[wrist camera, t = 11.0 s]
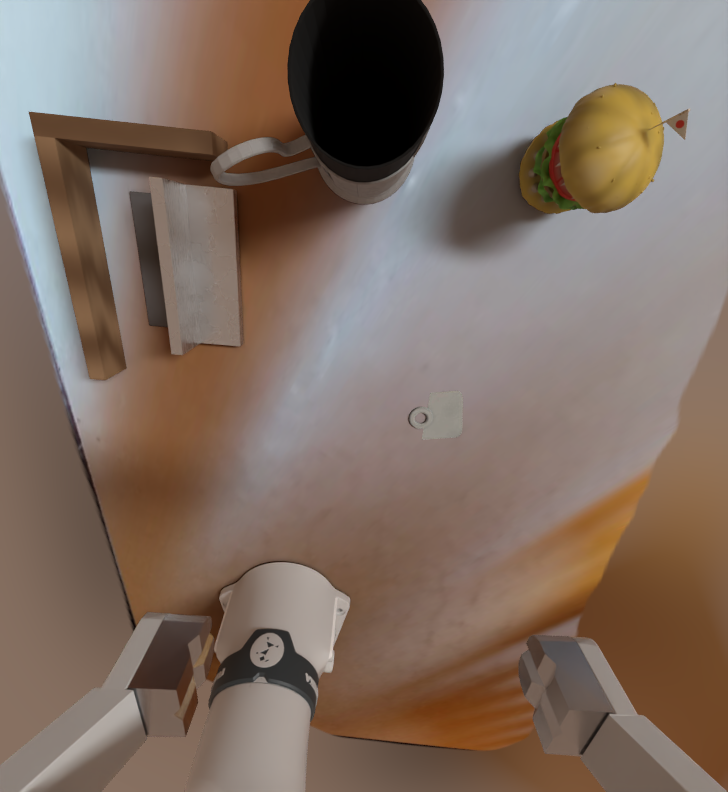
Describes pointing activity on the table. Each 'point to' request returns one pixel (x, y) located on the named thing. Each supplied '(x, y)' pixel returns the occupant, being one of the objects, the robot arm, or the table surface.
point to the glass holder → (355, 97)
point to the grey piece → (440, 416)
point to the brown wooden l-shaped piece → (80, 223)
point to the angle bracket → (198, 263)
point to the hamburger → (597, 153)
